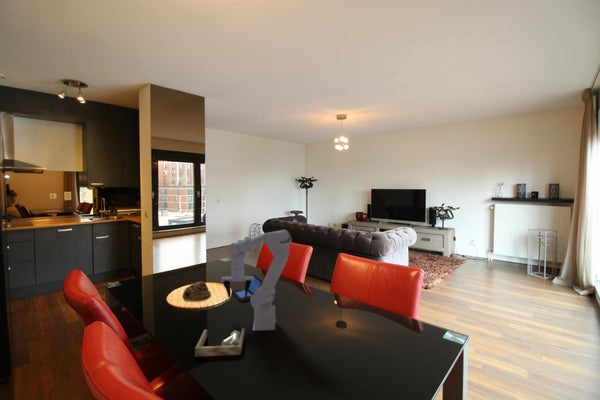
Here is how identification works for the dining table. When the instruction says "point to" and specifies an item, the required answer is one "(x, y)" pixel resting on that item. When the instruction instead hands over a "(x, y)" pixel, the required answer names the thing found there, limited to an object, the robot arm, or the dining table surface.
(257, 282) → the handheld game console
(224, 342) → the pipe fitting
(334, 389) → the dining table surface
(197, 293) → the brown swirled mound
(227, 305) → the dining table surface
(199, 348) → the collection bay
